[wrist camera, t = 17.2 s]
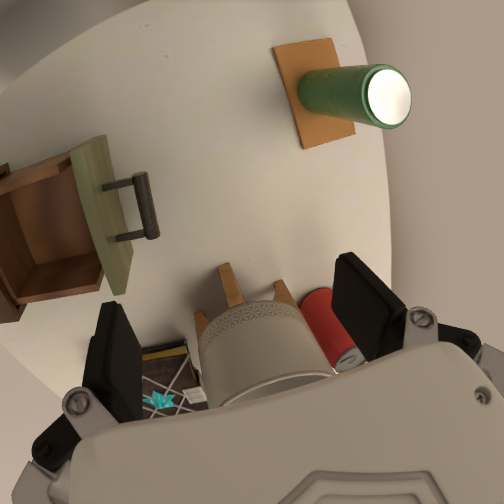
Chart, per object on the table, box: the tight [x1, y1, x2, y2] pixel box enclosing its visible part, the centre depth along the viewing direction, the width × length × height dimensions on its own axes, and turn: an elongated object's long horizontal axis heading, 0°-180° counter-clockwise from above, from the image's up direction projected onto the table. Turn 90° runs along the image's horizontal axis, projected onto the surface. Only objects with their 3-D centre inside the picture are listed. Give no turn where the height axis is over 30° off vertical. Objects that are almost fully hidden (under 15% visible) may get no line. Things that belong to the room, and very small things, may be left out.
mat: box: [272, 38, 356, 150], centre depth 27 cm, size 12×7×1 cm, turn 18°
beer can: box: [300, 288, 366, 373], centre depth 38 cm, size 7×7×12 cm
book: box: [142, 339, 209, 420], centre depth 43 cm, size 22×17×5 cm
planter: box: [194, 263, 336, 409], centre depth 32 cm, size 13×13×18 cm
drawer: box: [0, 135, 160, 305], centre depth 23 cm, size 18×13×8 cm
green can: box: [298, 64, 412, 129], centre depth 22 cm, size 5×5×12 cm
